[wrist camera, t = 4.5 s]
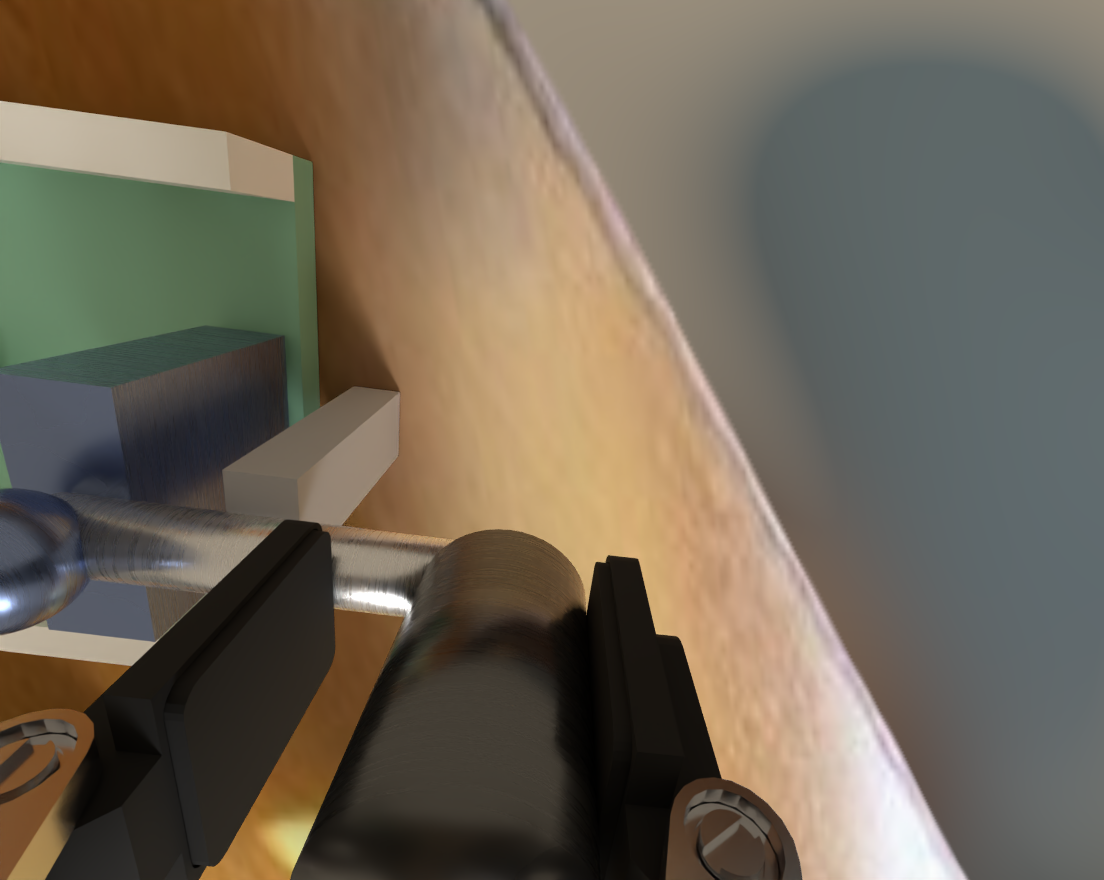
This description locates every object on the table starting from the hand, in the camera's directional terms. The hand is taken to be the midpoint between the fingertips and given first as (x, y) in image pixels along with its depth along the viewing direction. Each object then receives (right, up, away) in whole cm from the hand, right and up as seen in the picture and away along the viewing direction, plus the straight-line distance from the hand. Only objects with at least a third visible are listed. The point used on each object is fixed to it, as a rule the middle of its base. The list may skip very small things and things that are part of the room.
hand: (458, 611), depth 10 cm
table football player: (-3, +3, +7) cm, 9 cm away
